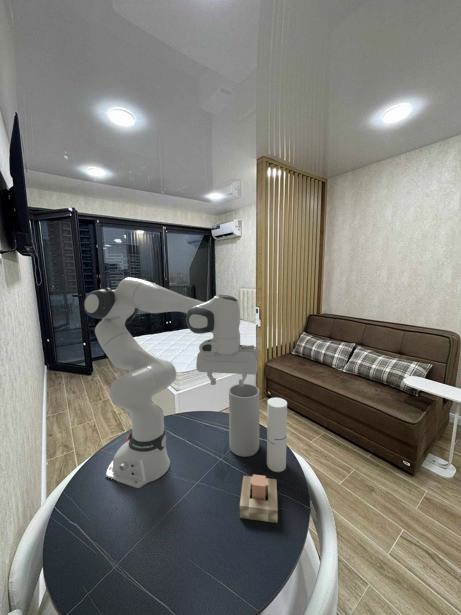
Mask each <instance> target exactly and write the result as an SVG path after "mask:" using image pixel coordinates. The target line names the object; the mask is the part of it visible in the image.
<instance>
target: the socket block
mask: <svg viewBox="0 0 461 615" xmlns="http://www.w3.org/2000/svg"><path fill="white" fill-rule="evenodd" d="M252 481H253V476H251V475H250V476H249V475H243V477H242V483H241V492H240V501H239V518H240V519H248V520H253V521H260V522H261V521H262V522H268V523H275V524H278V518H279V515H278V511H279V508H278V507H279V506H278V505H279V504H278V489H277V488H278V487H277V478H275V479H274V478H268V477H266V485H265V497H267V500H266V499H265V500H257V499H252Z"/></svg>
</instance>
